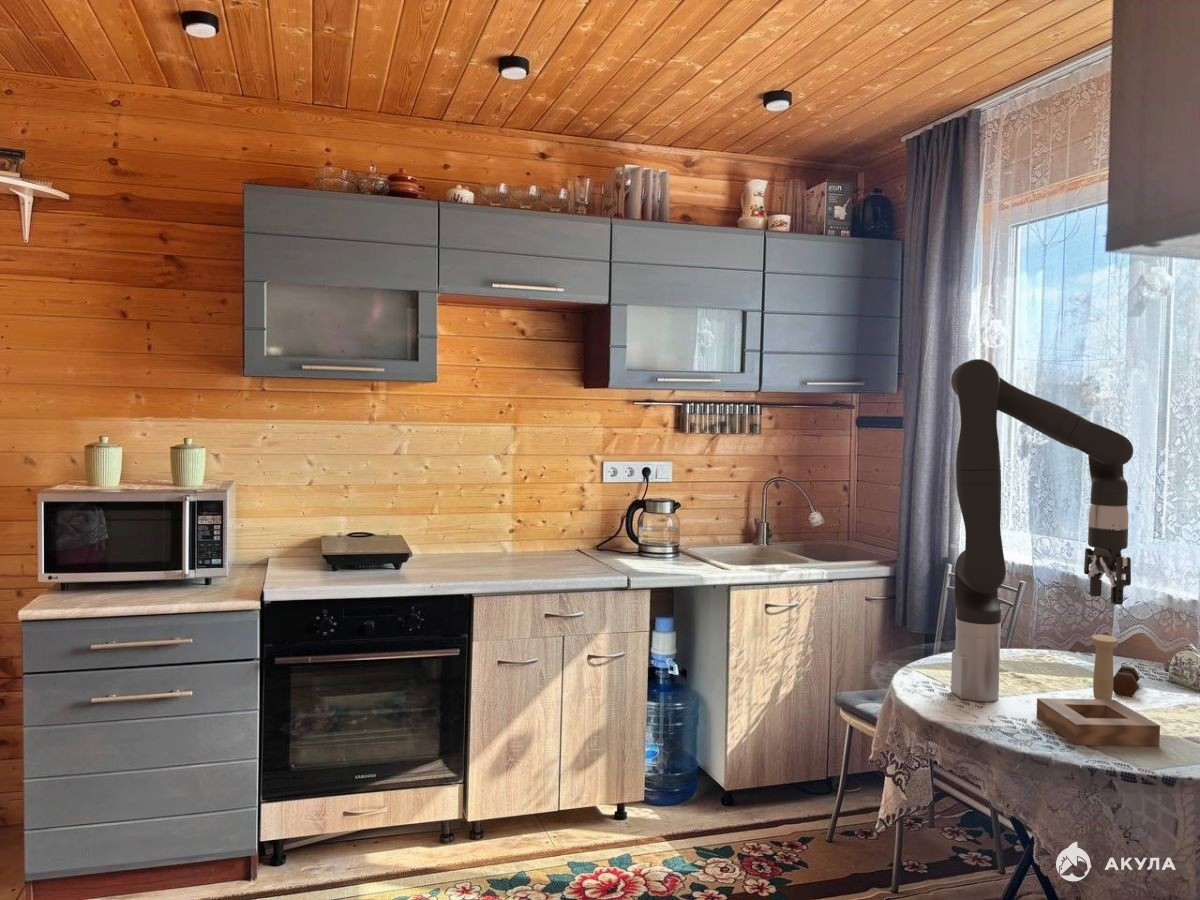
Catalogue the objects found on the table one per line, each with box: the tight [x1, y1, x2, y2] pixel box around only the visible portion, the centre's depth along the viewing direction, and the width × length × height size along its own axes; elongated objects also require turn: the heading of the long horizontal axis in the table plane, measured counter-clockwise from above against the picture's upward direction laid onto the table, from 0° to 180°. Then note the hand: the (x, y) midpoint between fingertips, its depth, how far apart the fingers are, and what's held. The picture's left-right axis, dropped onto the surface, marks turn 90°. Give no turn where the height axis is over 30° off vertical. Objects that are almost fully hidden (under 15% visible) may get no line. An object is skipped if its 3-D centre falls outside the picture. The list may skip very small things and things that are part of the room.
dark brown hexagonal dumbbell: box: [1113, 665, 1141, 698], centre depth 212 cm, size 6×5×15 cm
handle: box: [1091, 634, 1119, 699], centre depth 198 cm, size 5×6×15 cm
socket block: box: [1036, 697, 1161, 747], centre depth 183 cm, size 16×16×4 cm
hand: (1105, 600), depth 198 cm, fingers open, 8 cm apart
